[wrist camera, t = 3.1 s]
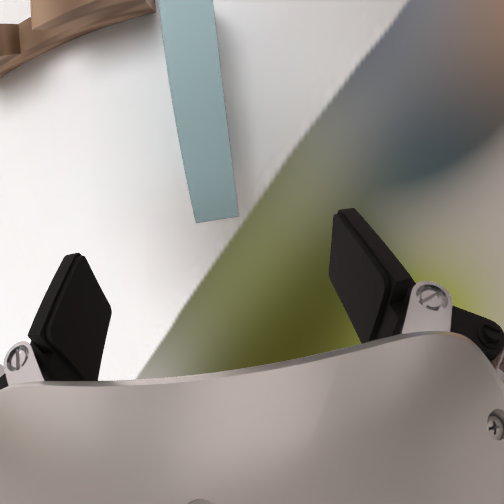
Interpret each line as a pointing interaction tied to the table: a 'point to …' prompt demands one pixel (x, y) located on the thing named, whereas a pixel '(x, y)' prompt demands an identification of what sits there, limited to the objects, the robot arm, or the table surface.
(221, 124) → the teal slotted board
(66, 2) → the walnut slotted board
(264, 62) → the table surface
